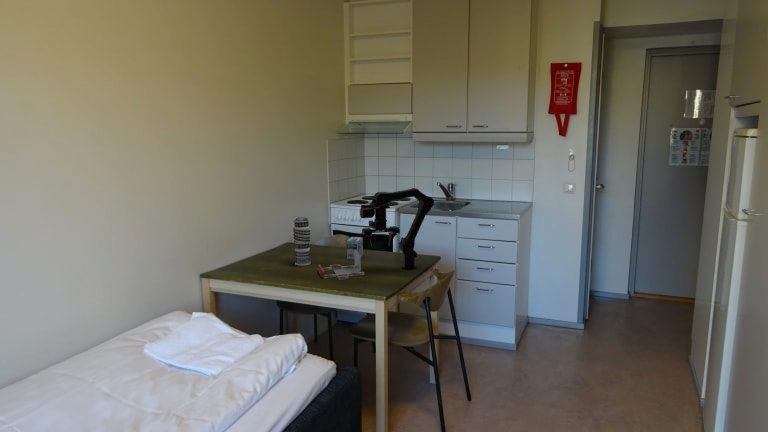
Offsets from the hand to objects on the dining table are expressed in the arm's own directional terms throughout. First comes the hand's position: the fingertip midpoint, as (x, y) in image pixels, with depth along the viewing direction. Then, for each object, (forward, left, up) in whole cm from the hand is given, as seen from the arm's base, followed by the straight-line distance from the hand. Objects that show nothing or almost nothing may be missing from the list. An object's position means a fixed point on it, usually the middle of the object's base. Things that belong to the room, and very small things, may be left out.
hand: (380, 247), depth 266 cm
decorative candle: (+5, -44, -12) cm, 46 cm away
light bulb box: (-18, -24, -12) cm, 33 cm away
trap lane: (+13, -16, -12) cm, 24 cm away
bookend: (+11, -14, -12) cm, 22 cm away
